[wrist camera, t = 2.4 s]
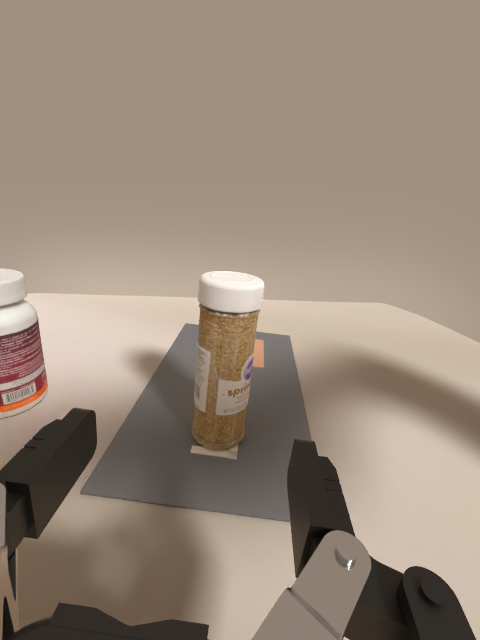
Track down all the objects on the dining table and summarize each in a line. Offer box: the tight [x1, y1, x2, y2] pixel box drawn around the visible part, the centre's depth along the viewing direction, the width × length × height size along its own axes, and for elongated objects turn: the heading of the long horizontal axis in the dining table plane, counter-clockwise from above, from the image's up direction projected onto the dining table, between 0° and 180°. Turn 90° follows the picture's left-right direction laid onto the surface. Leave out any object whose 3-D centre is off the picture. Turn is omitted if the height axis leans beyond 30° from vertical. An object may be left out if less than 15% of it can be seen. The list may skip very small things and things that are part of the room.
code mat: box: [80, 323, 311, 522], centre depth 34 cm, size 16×30×1 cm, turn 176°
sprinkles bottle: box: [192, 271, 264, 450], centre depth 24 cm, size 5×5×14 cm
